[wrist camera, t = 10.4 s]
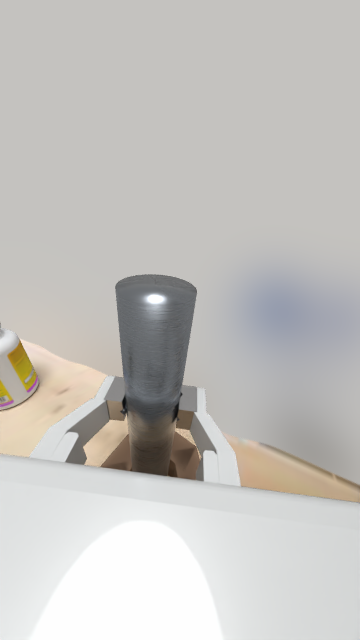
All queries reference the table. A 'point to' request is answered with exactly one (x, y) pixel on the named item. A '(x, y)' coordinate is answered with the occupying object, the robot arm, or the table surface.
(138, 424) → the grey metal peg
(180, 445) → the bead
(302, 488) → the table surface
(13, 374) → the supplement bottle
